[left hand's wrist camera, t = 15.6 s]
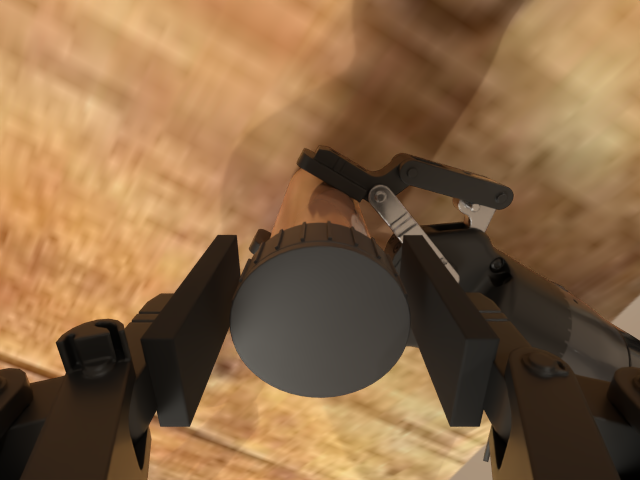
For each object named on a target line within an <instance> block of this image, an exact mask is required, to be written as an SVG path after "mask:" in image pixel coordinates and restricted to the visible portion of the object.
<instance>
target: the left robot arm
mask: <svg viewBox="0 0 640 480" xmlns="http://www.w3.org/2000/svg"><path fill="white" fill-rule="evenodd" d="M240 277H241V276H240V265H239V255H238V244H237V235H217V237H216V238H215V239H214V241H213V242H212V243H211V245H210V246H209V247H208V249H207V250H206V251H205V253H204V254H203V255H202V257H201V258H200V259H199V261H198V262H197V263H196V265H195V266H194V267H193V269H192V270H191V272H190V273H189V274H188V276H187V277H186V278H185V280H184V281H183V282H182V284H181V285H180V286H179V288H178V289H177V290H176V292H175V293H174V294H159V295H158V296H156V297H155V298H153V299H151V300H150V301H148V302H147V303H146V304H145V305H144V306H143V308H142V309H141V310H140V311H139V314H137V315H136V316H135V317H134V318H133V319H132V322H130V323H129V324H128V325H127V327H126V328H125V329H124V325H123V324H122V323H121V322H120V321H118V320H113V319H100V320H94V321H91V322H87V323H83V324H81V325H79V326H77V327H74V328H72V329H71V330H69V331H68V332H66V333H65V334H63V335H62V336H61V337H60V338H59V339H58V341H57V342H56V345H57V348H58V351H59V353H60V356H61V359H62V362H63V365H64V368H65V371H66V374H65V376H62V377H57V378H53V379H48V380H43V381H39V382H34V383H29V381H28V378H27V376H26V373H25V372H23V371H22V370H20V369H14V368H7V369H2V370H0V480H147V478H148V468H149V458H150V448H151V434H150V429H149V424H150V422H151V420H152V418H153V416H154V414H155V412H156V410H157V414H158V419H159V423H160V427H190V425H191V423H192V420H193V417H194V415H195V412H196V410H197V407H198V405H199V402H200V400H201V397H202V395H203V392H204V390H205V387H206V385H207V382H208V380H209V377H210V375H211V372H212V369H213V367H214V364H215V362H216V359H217V357H218V354H219V352H220V349H221V347H222V344H223V342H224V339H225V337H226V334H227V332H228V329H229V327H230V311H231V306H232V303H231V301H232V298H233V296H234V294H235V291H236V289H237V287H238V284H239V279H240ZM399 277H400V279H401V281H402V283H403V286H404V288H405V290H406V292H407V295H408V297H406V299H407V302H408V305H409V309H410V315H411V329H412V332H413V334H414V337H415V339H416V342H417V344H418V347H419V349H420V352H421V354H422V357H423V359H424V362H425V364H426V367H427V369H428V372H429V375H430V377H431V380H432V382H433V385H434V387H435V390H436V392H437V395H438V397H439V400H440V402H441V405H442V407H443V410H444V412H445V415H446V417H447V420H448V423H449V425H450V427H480V423H481V419H482V414H483V410H484V411H485V412H486V414H487V416H488V418H489V420H490V422H491V424H492V425H491V429H490V433H489V437H488V441H487V445H486V449H485V453H484V459H483V461H487V462H488V460H489V457H491V467H492V477H493V480H640V368H636V367H621V368H619V369H618V370H616V371H615V373H614V376H613V378H612V381H611V382H608V381H604V380H599V379H594V378H590V377H585V376H580V375H577V374H575V373H574V372H573V370H572V369H571V367H570V366H569V365H568V364H567V363H566V362H565V361H563V360H562V359H561V358H559V357H558V356H556V355H554V354H552V353H550V352H548V351H545V350H541V349H538V348H534V347H532V346H531V345H530V344H529V343H528V341H527V340H526V339H525V338H524V337H523V336H522V334H521V333H520V332H519V331H518V330H517V328H516V327H515V326H514V325H513V324H512V323H511V321H509V319H508V318H507V317H506V316H505V314H504V313H502V312H501V310H500V309H499V307H498V306H497V305H496V304H495V303H494V301H492V300H491V299H489V298H487V297H486V296H484V295H483V294H481V293H479V292H464V290H463V289H462V288H461V286H460V285H459V284H458V282H457V281H456V280H455V278H454V277H453V276H452V274H451V273H450V272H449V270H448V269H447V268H446V266H445V265H444V263H443V262H442V261H441V259H440V258H439V257H438V255H437V254H436V253H435V251H434V250H433V249H432V247H431V246H430V245H429V243H428V242H427V241H426V239H425V238H424V237H423V235H403V244H402V254H401V265H400V276H399Z"/></svg>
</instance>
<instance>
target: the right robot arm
mask: <svg viewBox="0 0 640 480" xmlns="http://www.w3.org/2000/svg"><path fill="white" fill-rule="evenodd" d="M297 165H298V166H299V167H300V168H302V169H303V170H305V171H307V172H308V173H310V174H312V175H314V176H315V177H317V178H319V179H320V180H322V181H324V182H326V183H327V184H329V185H331V186H332V187H334V188H336V189H338V190H339V191H341V192H343V193H345V194H346V195H348V196H350V197H351V198H353V199H355V200H356V201H358V202H361V200H362V199H364V200H366V201H368V202H370V204H371V205H372V206H373V208H374V209H375V210H376V211H377V212H378V214H379V215H380V216H381V217H382V218H383V220H384V221H385V222H386V223H387V224H388V226H389V227H390V228H391V229H392V231H393V232H394V234H393V235H392V237H391V238H390V240H389V241H388V243H387V246H386V248H385V251H384V252H385V254H387V253H388V254H389V255H390V258H391V260H392V262H393V264H394V267H395V269H396V271H397V272H398V274H399V276H400V265H401V254H402V244H403V235H423V237H424V238H425V239H426V241H427V242H428V243H429V245H430V246H431V247H432V249H433V250H434V251H435V253H436V254H437V255H438V257H439V258H440V259H441V261H442V262H443V263H444V265H445V266H446V268H447V269H448V270H449V272H450V273H451V274H452V276H453V277H454V278H455V280H456V281H457V282H458V284H459V285H460V286H461V288H462V289H463V290H464V292H479V293H481V294H483V295H484V296H486V297H487V298H489V299H491V300H492V301H494V303H495V304H496V305H497V306H498V307H499V309H500V310H501V312H502V313H504V314H505V316H506V317H507V318H508V319H509V321H511V323H512V324H513V325H514V326H515V327H516V328H517V330H518V331H519V332H520V333H521V334H522V336H523V337H524V338H525V339H526V340H527V341H528V343H529V344H530V345H531V346H532V347H534V348H538V349H541V350H545V351H548V352H550V353H552V354H554V355H556V356H558V357H559V358H561V359H562V360H563V361H565V362H566V363H567V364H568V365H569V366H570V367H571V369H572V370H573V372H574V373H575V374H577V375H580V376H585V377H590V378H594V379H599V380H604V381H608V382H611V381H612V378H613V376H614V373H615V371H616V370H618V369H619V368H621V367H636V368H640V340H638V339H636V338H635V337H633V336H632V335H630V334H628V333H627V332H625V331H623V330H622V329H620V328H618V327H617V326H615V325H613V324H612V323H610V322H608V321H607V320H605V319H604V318H602V317H601V316H600V315H599V314H598V313H597V312H596V311H594V310H593V309H592V308H591V307H589V306H588V305H587V304H586V303H584V302H583V301H581V300H580V299H578V298H576V297H575V296H573V295H571V294H570V293H568V291H567V290H566V289H565V288H564V287H562V286H560V285H558V284H556V283H554V282H550V281H548V280H547V279H545V278H544V277H542V276H540V275H539V274H537V273H535V272H534V271H532V270H530V269H529V268H527V267H525V266H524V265H522V264H520V263H519V262H517V261H515V260H514V259H512V258H510V257H509V256H507V255H505V254H504V253H502V252H501V251H499V250H497V249H496V248H494V247H493V245H492V244H491V241H490V239H489V237H488V236H487V234H486V233H485V231H486V229H487V227H488V225H489V223H490V221H491V219H492V216H493V214H494V212H495V210H496V209H497V210H501V209H504V208H506V207H508V206H509V205H510V204H511V202H512V200H513V192H512V190H511V189H510V188H508V187H506V186H504V185H502V184H500V183H498V182H496V181H494V180H492V179H489V178H487V177H485V176H481V175H478V174H474V173H471V172H467V171H464V170H461V169H457V168H454V167H450V166H447V165H443V164H440V163H436V162H433V161H430V160H426V159H423V158H419V157H416V156H412V155H409V154H405V153H400V154H397V155H395V156H394V157H393V159H392V161H391V162H390V163H389V164H388V165H386V166H385V167H384V168H383V169H381V170H379V171H368V170H366V169H364V168H363V167H361V166H359V165H358V164H356V163H355V162H353V161H351V160H350V159H348V158H346V157H345V156H343V155H341V154H340V153H338V152H336V151H335V150H333V149H331V148H330V147H325V146H318V148H317V150H316V152H315V153H314V152H312V151H310V150H309V149H306V148H304V150H303V151H302V153H301V155H300V157H299V159H298V161H297ZM409 185H411V186H415V187H418V188H422V189H425V190H429V191H433V192H436V193H440V194H443V195H447V196H450V197H453V205H454V206H455V207H456V208H457V209H458V210H459V211H461V212H462V213H464V222H455V223H444V224H433V225H422V226H419V224H418V223H417V222H416V221H415V219H414V218H413V217H412V216H411V214H410V213H409V212H408V211H407V209H406V208H405V207H404V206H403V204H402V203H401V202H400V201H399V199H398V198H397V197H396V195H397V194H398V193H400V192H401V191H402V190H404V189H405V188H406V187H408V186H409ZM270 235H271V233H270V232H268V231H266V230H264V229H259V230H258V232H257V233H256V235H255V237H254V239H253V241H252V243H251V245H250V247H249V250H250V251H251V253H253V254H255V253H256V252H257V250H258V249H259V247H260V244H261V243H262V242H264V243H265V242H266V241H267V240H269V238H270ZM406 346H411V347H417V348H419V347H418V344H417V342H416V339H415V337H414V334H413V332H412V329H411V327H410V334H409V338H408V341H407V344H406Z"/></svg>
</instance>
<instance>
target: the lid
mask: <svg viewBox="0 0 640 480" xmlns="http://www.w3.org/2000/svg"><path fill="white" fill-rule="evenodd" d="M406 297H408V295H407V292H406V290H405V288H404V286H403V283H402V281H401V279H400V277H399V274H398V272H397V271H396V269H395V267H394V264H393V262H392V260H391V258H390V255H389V254H388V253H387V254H385V252H384V251H383V250H382V249H381V248H380V247H379V246H378V245H377V244H376V242H375V239H374V238H373V237H372V238H371V239H370V238H369V237H367V236H366V235H364V234H362V233H361V232H359V231H357V230H355V228H354V227H353V226H351V228H350V227H346V226H343V225H339V224H333V223H331V221H327V223H307V224H306V222H303V224H302V225H297V226H294V227H291V228H288V229H286V230H283V229H281V230H280V231H279V233H278V234H276V235H275V236H273V237H272V238H270V239H269V240H267V241H266V242H265V243H264V242H262V243H261V244H260V247H259V249H258V250H257V252H256V253H255V254H254V256H253V257H252V259H248V261H247V263H246V265H245V268H244V270H243V272H242V274H241V277H240V279H239V284H238V287H237V289H236V291H235V294H234V296H233V298H232V301H231V303H232V306H231V311H230V332H231V336H232V341H233V343H234V346H235V348H236V351H237V352H238V354H239V356H240V358H241V359H242V361H243V362H244V363H245V364H246V366H247V367H248V368H249V369H250V370H251V371H252V372H253V373H254V374H255V375H256V376H258V377H259V378H260V379H261V380H263V381H264V382H266V383H268V384H269V385H271V386H273V387H275V388H277V389H279V390H282V391H285V392H288V393H291V394H295V395H299V396H305V397H317V398H325V397H336V396H341V395H346V394H349V393H353V392H356V391H358V390H361V389H363V388H365V387H367V386H369V385H371V384H373V383H374V382H376V381H377V380H379V379H380V378H382V377H383V376H384V375H385V374H386V373H387V372H389V371H390V370H391V368H392V367H393V366H394V365H395V364H396V363H397V361H398V360H399V358H400V357H401V355H402V353H403V351H404V349H405V347H406V344H407V341H408V338H409V334H410V327H411V315H410V309H409V305H408V302H407V299H406Z"/></svg>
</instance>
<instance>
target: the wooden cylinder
mask: <svg viewBox="0 0 640 480" xmlns="http://www.w3.org/2000/svg"><path fill="white" fill-rule="evenodd" d="M327 221H331V223H333V224H339V225H343V226H346V227H350V228H351V226H353V227H354V228H355V230H357V231H359V232H361V233H362V234H364V235H366V236H367V237H369V238H370V239H371V237H370V234H369V232H368V229H367V226H366V223H365V221H364V218H363V215H362V212H361V210H360V207H359V204H358V201H356V200H355V199H353V198H351V197H350V196H348V195H346V194H345V193H343V192H341V191H339V190H338V189H336V188H334V187H332V186H331V185H329V184H327V183H326V182H324V181H322V180H320V179H319V178H317V177H315V176H314V175H312V174H310V173H308V172H307V171H305V170H303V169H302V168H301V169H299V170H298V171H297V172H296V173H295V174H294V176H293V177H292V179H291V181H290V183H289V186H288V188H287V191H286V194H285V197H284V199H283V202H282V205H281V208H280V210H279V213H278V216H277V219H276V221H275V224H274V227H273V230H272V233H271V235H270V238H272V237H273V236H275V235H276V234H278V233H279V231H280V230H281V229H283V230H286V229H288V228H291V227H294V226H297V225H302V224H303V222H306V224H307V223H327ZM270 238H269V239H270Z"/></svg>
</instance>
